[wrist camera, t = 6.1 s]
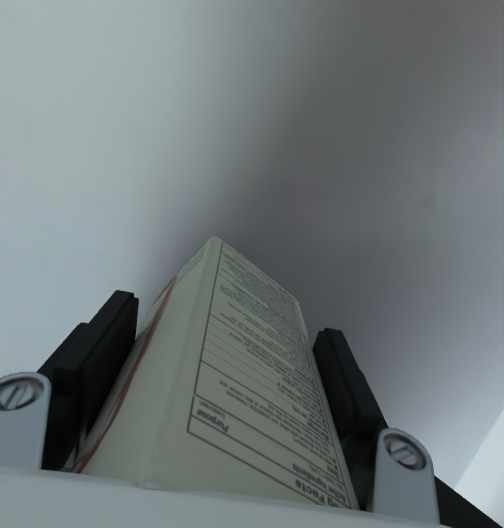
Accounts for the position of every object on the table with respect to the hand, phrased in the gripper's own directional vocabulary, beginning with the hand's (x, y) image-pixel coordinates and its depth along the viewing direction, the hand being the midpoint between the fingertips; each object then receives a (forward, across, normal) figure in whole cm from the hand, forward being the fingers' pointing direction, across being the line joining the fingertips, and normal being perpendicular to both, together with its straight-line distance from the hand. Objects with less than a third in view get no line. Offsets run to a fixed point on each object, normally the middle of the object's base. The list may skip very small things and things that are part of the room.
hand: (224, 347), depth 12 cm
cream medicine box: (+3, 0, 0) cm, 3 cm away
